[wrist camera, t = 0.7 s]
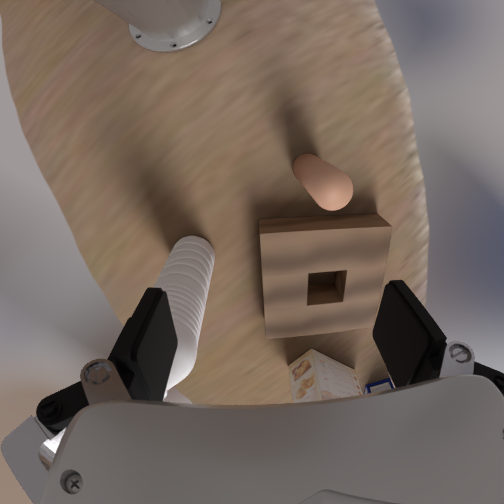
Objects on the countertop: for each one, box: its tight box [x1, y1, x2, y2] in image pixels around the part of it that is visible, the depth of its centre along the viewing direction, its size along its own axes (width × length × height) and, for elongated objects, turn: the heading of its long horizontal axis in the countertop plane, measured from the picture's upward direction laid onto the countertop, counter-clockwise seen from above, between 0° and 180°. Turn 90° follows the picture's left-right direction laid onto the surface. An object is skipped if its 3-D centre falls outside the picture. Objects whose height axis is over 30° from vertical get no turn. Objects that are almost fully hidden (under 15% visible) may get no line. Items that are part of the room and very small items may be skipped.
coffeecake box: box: [288, 348, 363, 403], centre depth 45 cm, size 15×7×20 cm, turn 52°
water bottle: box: [153, 236, 215, 399], centre depth 30 cm, size 9×6×25 cm
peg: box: [293, 153, 353, 211], centre depth 30 cm, size 4×4×12 cm
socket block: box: [258, 214, 392, 339], centre depth 40 cm, size 18×18×5 cm
